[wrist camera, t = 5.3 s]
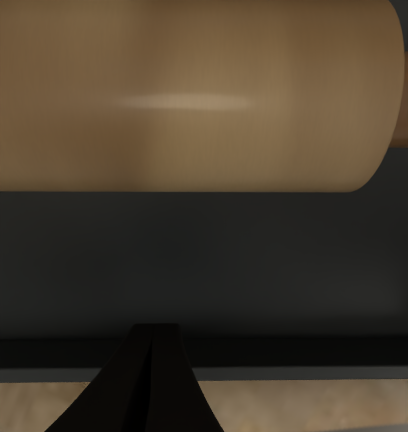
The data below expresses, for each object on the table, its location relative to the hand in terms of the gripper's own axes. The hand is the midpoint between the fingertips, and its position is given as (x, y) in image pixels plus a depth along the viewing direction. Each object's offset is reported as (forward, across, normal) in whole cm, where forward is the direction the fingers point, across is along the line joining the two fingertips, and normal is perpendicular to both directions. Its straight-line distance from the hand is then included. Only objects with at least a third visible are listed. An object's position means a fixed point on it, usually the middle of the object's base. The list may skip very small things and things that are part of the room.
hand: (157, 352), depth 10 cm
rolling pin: (0, 0, -7) cm, 7 cm away
